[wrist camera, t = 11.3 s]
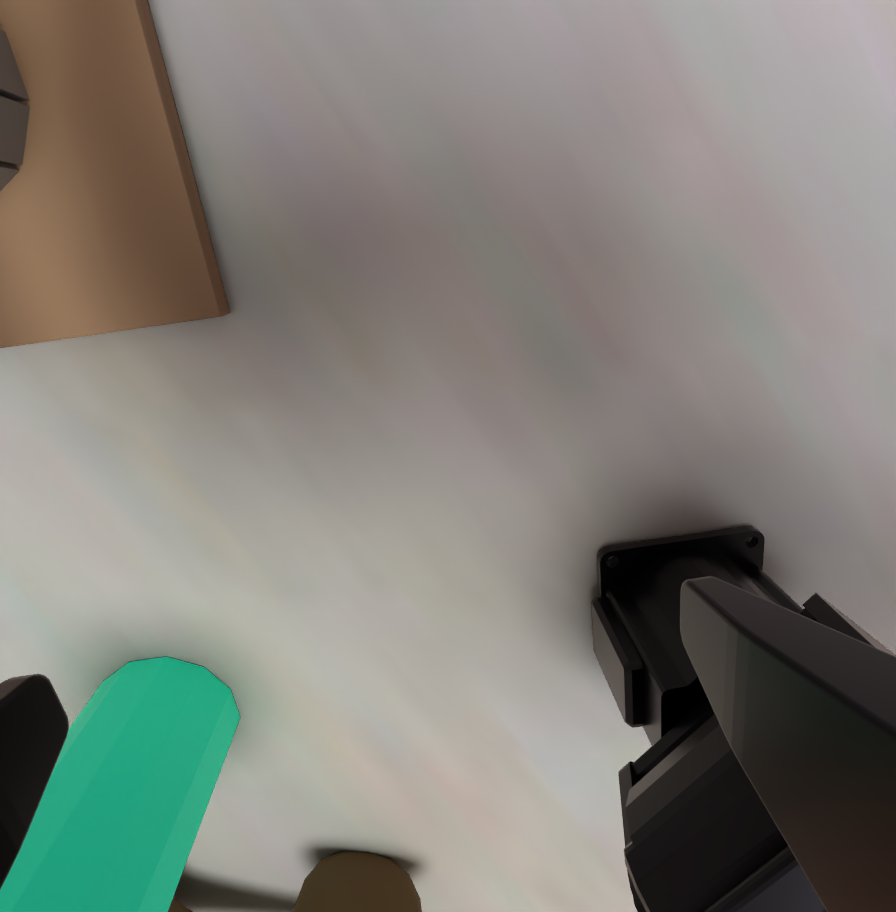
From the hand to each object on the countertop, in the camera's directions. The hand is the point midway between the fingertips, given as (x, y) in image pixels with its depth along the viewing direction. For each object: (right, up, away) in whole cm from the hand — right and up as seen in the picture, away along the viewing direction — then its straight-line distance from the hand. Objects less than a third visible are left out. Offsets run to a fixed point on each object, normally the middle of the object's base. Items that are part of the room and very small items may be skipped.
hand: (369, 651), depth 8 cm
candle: (-11, -8, +17) cm, 21 cm away
